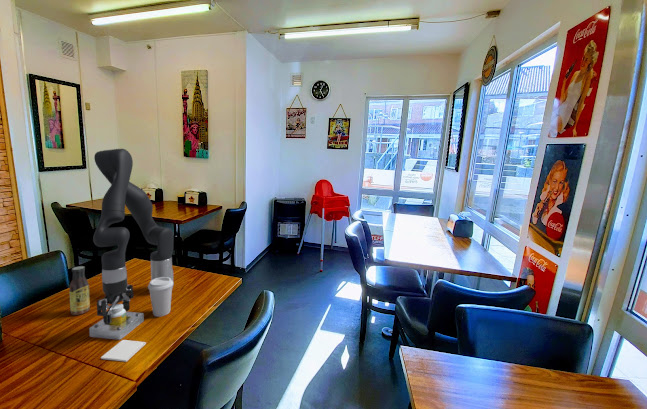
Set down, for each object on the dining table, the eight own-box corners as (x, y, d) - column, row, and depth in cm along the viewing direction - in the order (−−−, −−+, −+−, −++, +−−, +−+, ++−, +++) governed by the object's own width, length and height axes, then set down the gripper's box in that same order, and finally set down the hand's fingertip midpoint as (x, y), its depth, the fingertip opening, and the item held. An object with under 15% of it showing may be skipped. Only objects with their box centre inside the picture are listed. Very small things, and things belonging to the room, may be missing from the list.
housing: (116, 318, 111) (116, 309, 110) (143, 321, 110) (143, 312, 110) (89, 336, 99) (89, 327, 99) (120, 339, 99) (119, 330, 98)
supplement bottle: (111, 326, 106) (110, 304, 104) (128, 323, 108) (126, 301, 107) (107, 334, 101) (106, 311, 100) (125, 330, 104) (123, 308, 102)
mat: (122, 341, 98) (122, 339, 98) (145, 343, 97) (145, 342, 97) (101, 358, 89) (100, 357, 89) (126, 361, 89) (126, 360, 88)
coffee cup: (179, 310, 119) (178, 279, 117) (158, 321, 111) (157, 287, 108) (165, 304, 123) (164, 274, 121) (144, 314, 115) (142, 282, 112)
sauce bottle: (78, 317, 110) (74, 272, 107) (66, 314, 111) (62, 270, 108) (94, 308, 117) (91, 266, 113) (83, 306, 118) (79, 264, 115)
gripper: (120, 269, 109) (123, 306, 111) (88, 285, 95) (91, 326, 97) (138, 271, 108) (140, 307, 111) (107, 287, 94) (110, 328, 97)
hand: (117, 316), depth 104 cm, fingers open, 8 cm apart
